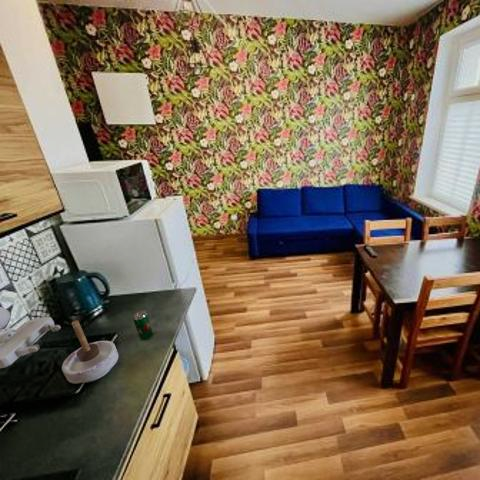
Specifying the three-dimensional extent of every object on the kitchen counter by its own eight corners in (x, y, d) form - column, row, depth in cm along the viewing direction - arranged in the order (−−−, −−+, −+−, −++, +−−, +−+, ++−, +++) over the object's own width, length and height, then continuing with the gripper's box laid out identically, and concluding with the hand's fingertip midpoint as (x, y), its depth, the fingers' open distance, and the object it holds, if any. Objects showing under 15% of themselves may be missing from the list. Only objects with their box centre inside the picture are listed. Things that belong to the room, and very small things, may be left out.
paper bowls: (90, 394, 91) (82, 377, 87) (58, 383, 94) (49, 367, 91) (130, 360, 104) (125, 344, 101) (101, 351, 108) (95, 336, 105)
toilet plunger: (75, 364, 93) (59, 329, 87) (82, 351, 98) (67, 318, 92) (96, 358, 95) (82, 325, 89) (102, 347, 100) (89, 314, 94)
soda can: (138, 336, 116) (130, 314, 111) (151, 330, 119) (144, 308, 115) (141, 342, 113) (134, 319, 108) (155, 336, 116) (148, 313, 112)
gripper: (30, 328, 99) (72, 324, 101) (-25, 375, 80) (28, 368, 83) (23, 315, 96) (66, 311, 99) (-36, 359, 78) (19, 353, 80)
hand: (48, 337), depth 90 cm, fingers open, 8 cm apart
